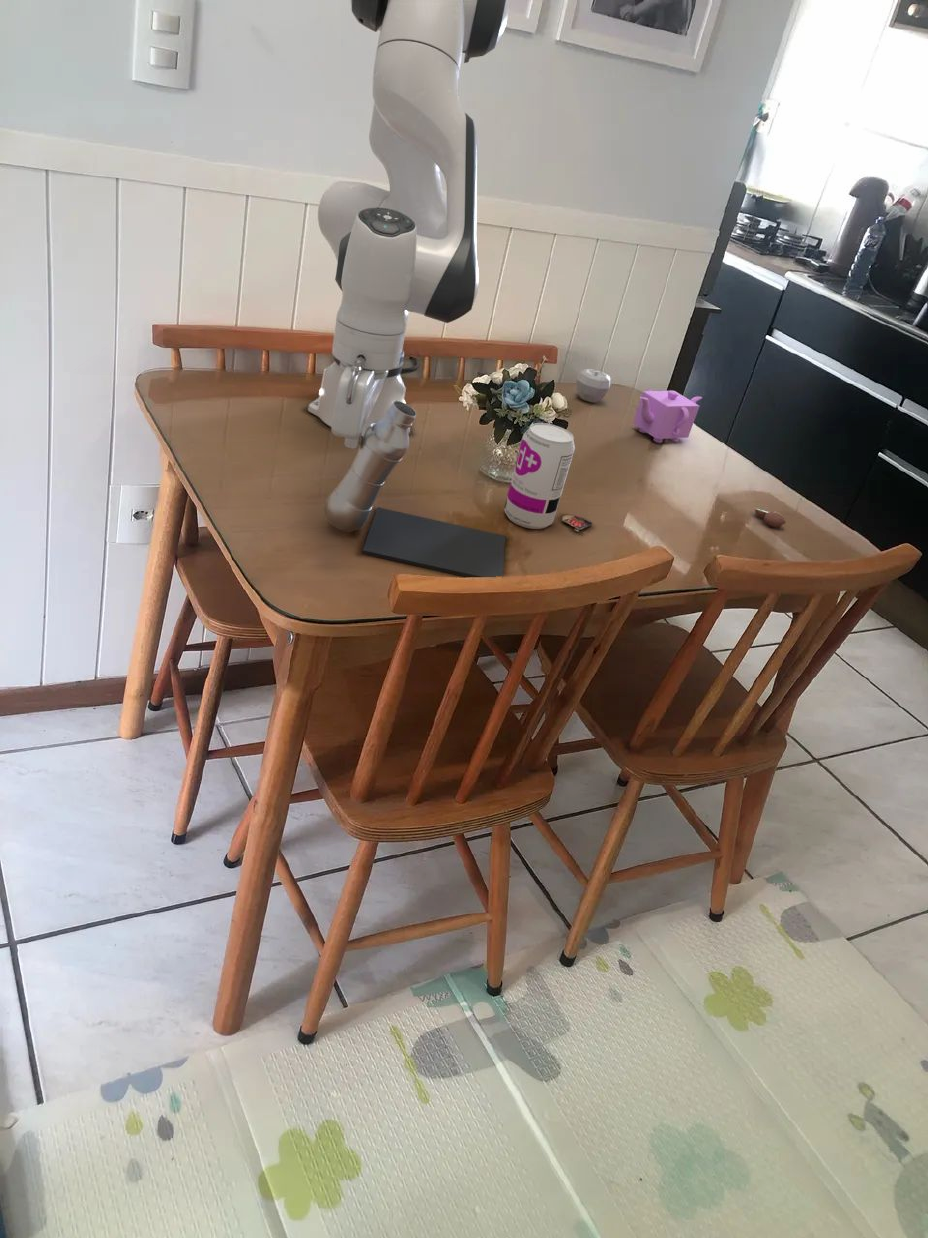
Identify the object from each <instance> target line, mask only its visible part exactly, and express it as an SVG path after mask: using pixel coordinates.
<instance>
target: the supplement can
mask: <svg viewBox="0 0 928 1238" xmlns="http://www.w3.org/2000/svg"><path fill="white" fill-rule="evenodd" d="M574 439H575V437H574V435H573V433H571V432H570V431H569V430H567V429H565V428H564V427H561V426H558V425H555V424H551V423H546V422H534V423H531V424H530V425H529V427H528V429H527V430H526V431H525V432H524V433H523V435H522V438H521V442H520V447H519V449H518V453H517V458H516V460H515V465H514V469H513V472H512V476H511V480H510V483H509V487H508V491H507V496H506V499H505V503H504V506H503V510H504V511H503V512H504V513H505V514H506V516H507V518H508V519H509V521H511V522H512V523H514V524H515V525H518V526H520V527H523V528H527V529H531V530H541V529H545V528H547V527H549V526H550V525H552V524H553V523H554V521H555V517H556V514H557V510H558V506H559V504H560V500H561V497H562V493H563V491H564V486H565V483H566V480H567V477H568V473H569V470H570V467H571V463H572V459H573V456H574V454H575V450H576V447H575V442H574Z"/></svg>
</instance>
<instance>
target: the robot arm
mask: <svg viewBox="0 0 928 1238" xmlns="http://www.w3.org/2000/svg"><path fill="white" fill-rule="evenodd" d="M349 2H350V5H351V13H352V15H353V16H354V18H355V19H356V20H357V21H356V22H358V23H359V24H361V25H362V26H364V27H365V28H367V29H369V30H370V31H372V32H375V33H377V32H378V31H380V32H379V36H378V39H377V47H376V51H375V58H374V63H373V73H372V99H373V108H372V114H371V121H370V126H369V132H368V141H369V146H370V150H371V151H372V154H374V156H375V157H376V159H377V160H378V161H379V162H380V163H381V164H382V166H383V168H384V169H385V173H386V175H387V179H388V186H389V190H387V189H384V188H380V187H377V186H374V185H372V184H369V183H366V182H358V181H346V180H343V181H342V180H339V181H336V182H334V183H332V184H330V186H329V187H327V188H326V190H325V191H324V193H323V194H322V196H321V198H320V200H319V204H318V208H317V221H318V227H319V229H320V232H321V235H322V236H323V237H324V239H325V240H326V241H327V243H328V245H329V246H330V248H331V250H332V253H333V254H334V257H335V259H336V262H337V264H336V272H335V278H334V281H335V282H336V284H337V286H338V287H339V289H340V290H341V292H342V296H341V302H340V305H339V307H338V310H337V313H336V318H335V323H334V333H333V340H332V348H331V354H332V356H333V360H334V361H333V362H332V363H331V364H329V365H328V366H327V367H326V368H324V369H323V373H322V378H321V384H320V389H319V392H318V397H317V398H316V399H315V400H313V401H311V402H310V403H309V404H308V406H307V411H308V412H309V413H311V414H312V415H314V416H316V417H318V418H319V419H320V420H321V421H322V422H323V423H324V424H326V425H327V426H328V427H330V431H331V434H332V435H333V436H337V437H340V438H344V447H345V448H347V449H352V450H356V449H357V448H358V446H359V445H360V443H361V441H362V437H363V436H364V433H365V431H366V429H367V428H368V427H369V426H370V425H371V424H372V423H373V422H375V421H377V420H379V419H382V418H384V417H386V416H387V414H386V413H387V411H388V409H390V407H391V405H392V403H393V402H394V401H401V402H404V403H406V400H405V396H406V390H407V387H406V386H405V383H404V381H403V378H402V375H401V373H406V372H407V373H408V372H412V371H415V370H416V369H418V367H419V360H418V358H417V357H416V358H413V357H410V356H409V359H413V361H414V366H411V367H404V368H403V365H404V361H405V358H404V357H405V351H404V350H403V349H404V343H405V337H406V331H407V327H408V321H409V315H410V313H414V314H419V315H424V317H426V318H429V319H431V320H432V319H433V320H436V321H439V322H442V323H444V324H445V323H446V324H449V323H452V322H455V321H457V320H458V319H460V318H462V317H463V316H465V315H466V314H468V313H469V312H471V310H472V309H473V306H474V303H475V302H476V299H477V297H478V292H479V286H480V285H479V284H480V271H479V270H480V269H479V264H478V262H479V261H478V257H477V256H478V255H477V208H478V207H477V205H478V204H477V203H478V201H477V200H478V196H477V195H478V151H477V150H478V148H477V147H478V146H477V145H478V144H477V134H476V132H477V131H476V126H475V123H474V119H473V118H472V117H471V116H470V115H469V114H468V113H466V112H465V110H464V108H463V104H462V102H461V98H460V92H459V79H460V72H461V66H462V59H463V64H467V63H469V62H470V59H472V58H479V57H484V56H486V55H487V54H489V53H490V52H492V51H493V50H495V48H496V45H497V43H498V42H500V39H501V38H502V36H503V34H504V32H505V30H506V27H507V24H508V20H509V12H510V1H509V0H349ZM463 54H464V58H463ZM441 173H442V175H443V178H444V180H445V185H446V196H445V193H444V190H443V186H442V185H443V184H442V180H441ZM406 404H407V403H406ZM410 432H411V427H410V428H408V435H409V434H410Z"/></svg>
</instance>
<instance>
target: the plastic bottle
mask: <svg viewBox="0 0 928 1238" xmlns="http://www.w3.org/2000/svg"><path fill="white" fill-rule="evenodd" d="M386 414H387V416H386V417H384V418H382V419H379V420H377V421H375V422H373V423H372V424H371V425H370V426H369V427H368V428H367V429H366V431H365V433H364V436H362V437H361V440H360V443H359V445H358V446H359V447H358V449H357V452H356V454H355V456H354V458H353V460H352V462H351V464H350V465H349V468H348V470H347V471H346V472H345V474H344V476H343V477H342V478H341V480H340V481H339V483H338V484H337V485H336V487H334V489H333V490H332V491H331V492H330V493H329V495H328V496H327V498H326V501H325V503H324V507H323V511H324V516H325V518H326V520H327V521H328V522H329V524H331V525H332V526H334V527H335V528H337V529H339V530H341V531H344V532H348V533H352V532H356V531H358V530H360V529H362V528H363V526H364V525H365V524H366V523H367V522H368V520H369V518H370V515H371V513H372V510H373V506H374V504H375V502H376V499H377V497H378V495H379V494H380V491H381V489H382V487H383V486H384V485H385V483H386V481H387V480H388V479H389V477H390V475H391V474H392V472H393V471H394V470H395V469H396V468H397V466H398V465H399V464H400V463H401V462H402V460H403V459H404V457H405V456H406V455H407V454H408V452H409V451H408V450H409V446H410V437H409V436H410V435H409V434H408V428H410V429H411V427H412V426H413V423H414V421H415V419H416V418H417V414H418V413H417V412H416V410H415V409H414V408H413V407H412V406H411V405H409V404H407V403H404V402H401V401H394V402H393V403H392V405H391V407H390V409H388V411H387V413H386Z"/></svg>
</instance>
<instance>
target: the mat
mask: <svg viewBox="0 0 928 1238" xmlns="http://www.w3.org/2000/svg"><path fill="white" fill-rule="evenodd" d="M505 547H506V535H503V534H499V533H494V532H489V531H486V530H481V529H477V528H472V527H467V526H463V525H459V524H454V523H450V522H445V521H441V520H437V519H432V518H428V517H423V516H418V515H414V514H411V513H406V512H401V511H397V510H392V509H388V508H383V507H377V508H376V511H375V513H374V517H373V518H372V523H371V525H370V528H369V531H368V534H367V536H366V539H365V541H364V544H363V547H362V550H361V554H362V555H365V556H366V555H367V556H370V557H375V558H380V559H383V560H389V561H394V562H398V563H403V564H407V565H411V566H415V567H420V568H425V569H429V570H434V571H438V572H443V573H447V574H452V575H456V576H461V577H465V578H469V577H496V576H502V577H503V575H504V574H503V573H504V563H505V562H504V561H505Z"/></svg>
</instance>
